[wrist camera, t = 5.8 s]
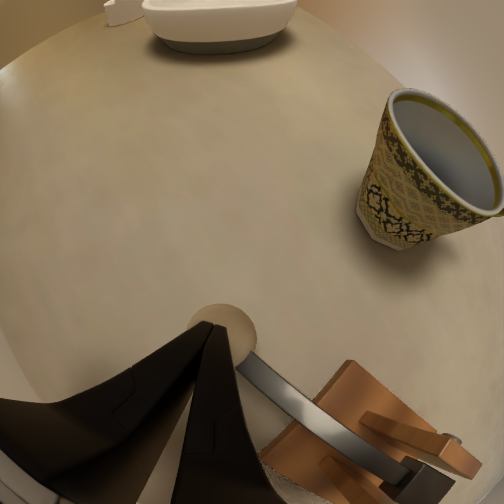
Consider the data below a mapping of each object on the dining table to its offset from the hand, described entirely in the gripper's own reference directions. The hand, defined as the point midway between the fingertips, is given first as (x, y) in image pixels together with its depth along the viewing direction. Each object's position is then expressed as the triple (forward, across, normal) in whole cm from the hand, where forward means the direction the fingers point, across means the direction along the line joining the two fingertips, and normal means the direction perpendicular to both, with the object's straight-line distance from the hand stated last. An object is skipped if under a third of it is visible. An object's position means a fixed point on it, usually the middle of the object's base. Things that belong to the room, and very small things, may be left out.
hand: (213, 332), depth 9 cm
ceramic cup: (+15, -12, -3) cm, 20 cm away
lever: (+1, -6, +5) cm, 8 cm away
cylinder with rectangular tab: (+43, +41, -30) cm, 67 cm away
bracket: (+2, -11, +10) cm, 15 cm away
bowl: (+35, +14, -22) cm, 44 cm away
